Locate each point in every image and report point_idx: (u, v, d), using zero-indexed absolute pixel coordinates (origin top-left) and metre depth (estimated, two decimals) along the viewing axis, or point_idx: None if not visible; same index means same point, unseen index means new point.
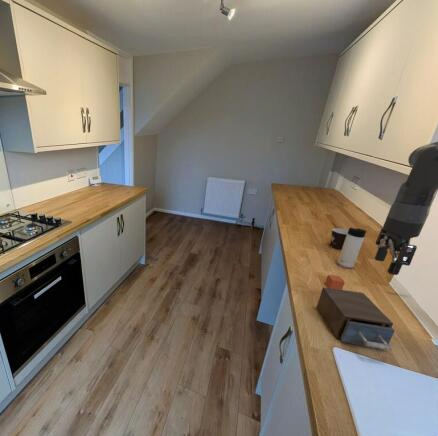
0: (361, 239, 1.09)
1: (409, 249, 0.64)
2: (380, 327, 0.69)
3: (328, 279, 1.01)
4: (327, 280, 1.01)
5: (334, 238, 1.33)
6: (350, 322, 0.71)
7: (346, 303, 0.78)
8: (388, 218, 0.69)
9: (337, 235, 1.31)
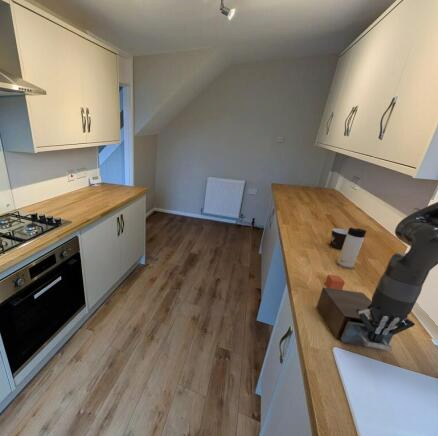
0: (361, 239, 1.09)
1: (359, 315, 0.67)
2: None
3: (328, 279, 1.01)
4: (327, 280, 1.01)
5: (334, 238, 1.33)
6: (350, 322, 0.71)
7: (346, 303, 0.78)
8: None
9: (337, 235, 1.31)
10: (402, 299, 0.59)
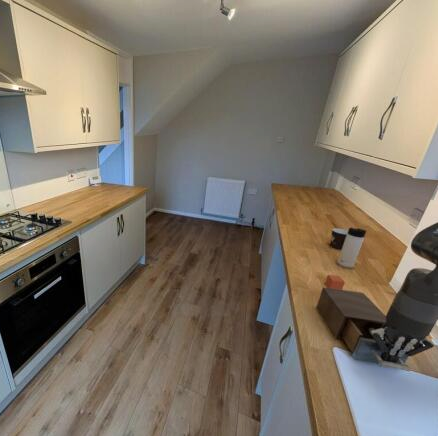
0: (361, 239, 1.09)
1: (372, 335, 0.61)
2: None
3: (328, 279, 1.01)
4: (327, 280, 1.01)
5: (334, 238, 1.33)
6: (363, 339, 0.65)
7: (346, 303, 0.78)
8: None
9: (337, 235, 1.31)
10: (421, 320, 0.54)
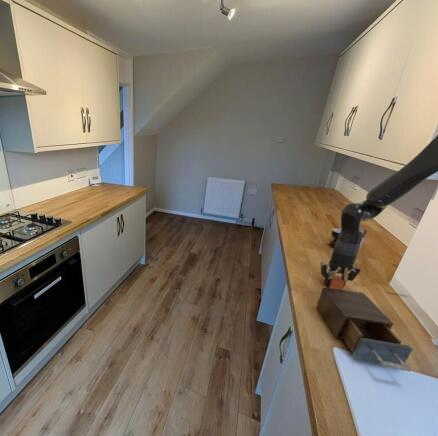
0: None
1: (321, 266, 0.99)
2: (396, 345, 0.64)
3: None
4: None
5: (334, 238, 1.33)
6: (363, 339, 0.65)
7: (346, 303, 0.78)
8: None
9: (337, 235, 1.31)
10: (347, 254, 0.92)
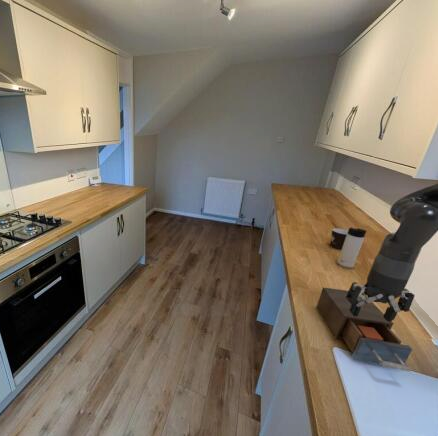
0: (361, 239, 1.09)
1: (353, 287, 0.69)
2: (396, 345, 0.64)
3: None
4: None
5: (334, 238, 1.33)
6: (363, 339, 0.65)
7: (346, 303, 0.78)
8: None
9: (337, 235, 1.31)
10: (396, 276, 0.62)
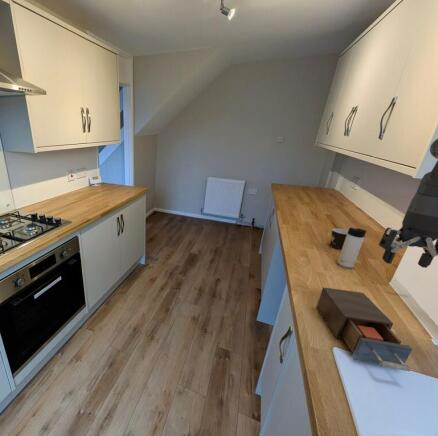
0: (361, 239, 1.09)
1: (387, 232, 0.67)
2: (396, 345, 0.64)
3: None
4: None
5: (334, 238, 1.33)
6: (363, 339, 0.65)
7: (346, 303, 0.78)
8: None
9: (337, 235, 1.31)
10: (436, 214, 0.60)
